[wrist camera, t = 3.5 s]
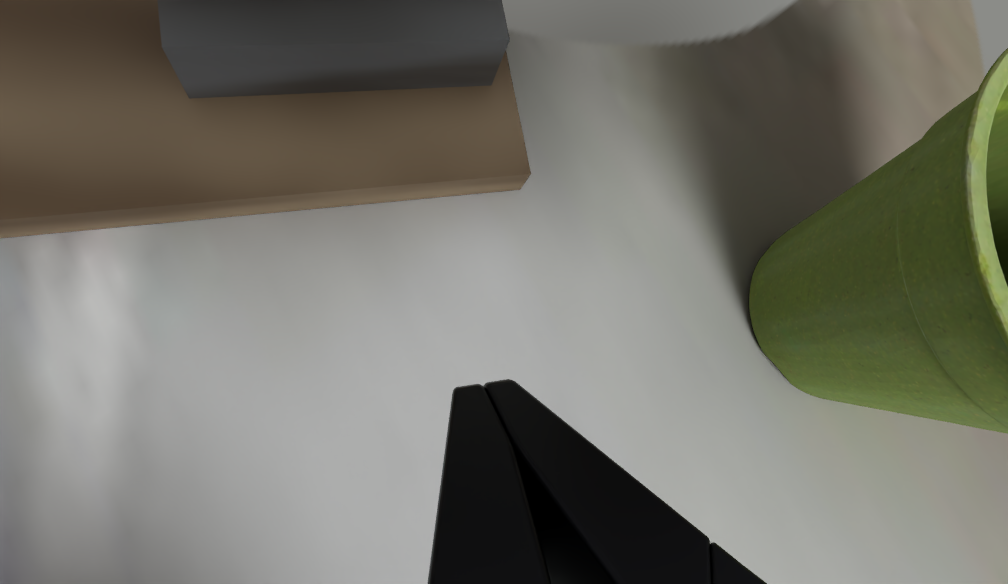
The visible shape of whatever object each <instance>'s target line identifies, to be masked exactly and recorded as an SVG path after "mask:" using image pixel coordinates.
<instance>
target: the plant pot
mask: <svg viewBox="0 0 1008 584" xmlns="http://www.w3.org/2000/svg"><path fill="white" fill-rule="evenodd" d="M749 309H750V317H751V321H752V326H753V330H754V333H755V336H756V338H757V341H758V343H759V345H760V347H761V349H762V351H763V353H764V354H765V355H766V356H767V357H768V358H769V359H770V360H771V361H772V362H773V363H774V364H775V366H776V367H777V368H778V369H779V370H780V371H781V373H782V374H783V375H784V376H785V377H786V378H787V380H788V381H789V382H790V383H791V384H792V385H793V386H795V387H796V388H798V389H800V390H801V391H803V392H805V393H808V394H810V395H813V396H816V397H819V398H823V399H827V400H833V401H838V402H843V403H849V404H854V405H859V406H865V407H870V408H875V409H881V410H886V411H892V412H897V413H902V414H908V415H913V416H918V417H924V418H929V419H934V420H940V421H945V422H951V423H956V424H961V425H966V426H971V427H976V428H981V429H986V430H992V431H997V432H1002V433H1008V48H1007V49H1006V50H1005V51H1004V52H1003V53H1002V54H1001V56H1000V57H999V58H998V59H997V60H996V62H995V63H994V64H993V66H992V67H991V68H990V70H989V71H988V73H987V75H986V76H985V78H984V80H983V81H982V83H981V85H980V87H979V89H978V91H977V92H975V93H974V94H973V95H971V96H970V97H969V98H967V99H966V100H964V101H963V102H962V103H960V104H959V105H958V106H956V107H955V108H953V109H952V110H951V111H949V112H948V113H947V114H946V115H944V116H943V117H942V118H941V119H939V120H938V121H937V122H936V123H935V124H934V125H933V126H932V127H931V128H930V129H929V130H928V131H927V132H926V134H925V135H924V136H923V138H922V139H921V140H919V141H918V142H916V143H915V144H913V145H912V146H911V147H909V148H908V149H906V150H905V151H903V152H902V153H901V154H899V155H898V156H896V157H895V158H893V159H892V160H891V161H889V162H888V163H886V164H885V165H883V166H882V167H880V168H879V169H878V170H876V171H875V172H873V173H872V174H871V175H869V176H868V177H866V178H865V179H863V180H862V181H860V182H859V183H857V184H856V185H855V186H853V187H852V188H850V189H849V190H847V191H846V192H844V193H843V194H841V195H840V196H839V197H837V198H836V199H834V200H833V201H831V202H830V203H828V204H827V205H826V206H824V207H823V208H821V209H820V210H818V211H817V212H815V213H814V214H812V215H811V216H809V217H808V218H806V219H805V220H803V221H802V222H800V223H799V224H798V225H796V226H795V227H793V228H792V229H790V230H789V231H787V232H786V233H785V234H783V235H782V236H781V237H779V238H778V239H777V240H776V241H775V242H774V243H773V244H772V245H771V246H770V247H769V249H768V250H767V251H766V252H765V253H764V255H763V256H762V257H761V258H760V260H759V261H758V263H757V265H756V267H755V270H754V273H753V276H752V280H751V287H750V295H749Z"/></svg>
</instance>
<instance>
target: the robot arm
mask: <svg viewBox="0 0 1008 584" xmlns="http://www.w3.org/2000/svg"><path fill="white" fill-rule="evenodd" d="M428 584H767V583H765V582H764V581H763V580H762V579H760V578H759V577H758V576H756V575H755V574H754V573H752V572H751V571H750V570H749V569H747V568H746V567H745V566H743V565H742V564H741V563H740V562H738V561H737V560H736V559H735V558H733V557H732V556H731V555H730V554H728V553H727V552H726V551H725V550H723V549H722V548H721V547H720V546H718V545H717V544H716V543H711V544H710V540H709V538H708V537H707V536H706V535H704V534H703V533H702V532H701V531H700V530H698V529H697V528H696V527H695V526H693V525H692V524H691V523H690V522H688V521H687V520H686V519H685V518H683V517H682V516H681V515H680V514H678V513H677V512H676V511H675V510H674V509H672V508H671V507H670V506H669V505H667V504H666V503H665V502H664V501H662V500H661V499H660V498H659V497H657V496H656V495H655V494H654V493H652V492H651V491H650V490H649V489H648V488H646V487H645V486H644V485H643V484H641V483H640V482H639V481H638V480H636V479H635V478H634V477H633V476H631V475H630V474H629V473H628V472H626V471H625V470H624V469H623V468H622V467H620V466H619V465H618V464H617V463H615V462H614V461H613V460H612V459H610V458H609V457H608V456H607V455H605V454H604V453H603V452H602V451H600V450H599V449H598V448H597V447H596V446H594V445H593V444H592V443H591V442H589V441H588V440H587V439H586V438H584V437H583V436H582V435H581V434H579V433H578V432H577V431H576V430H574V429H573V428H572V427H571V426H569V425H568V424H567V423H566V422H565V421H563V420H562V419H561V418H560V417H558V416H557V415H556V414H555V413H553V412H552V411H551V410H550V409H548V408H547V407H546V406H545V405H543V404H542V403H541V402H540V401H539V400H537V399H536V398H535V397H534V396H532V395H531V394H530V393H529V392H527V391H526V390H525V389H524V388H522V387H521V386H520V385H519V384H517V383H516V382H515V381H513V380H509V379H507V380H500V381H494V382H488V383H486V384H485V385H484V386H482V385H480V384H474V385H468V386H461V387H456V388H455V389H454V390H453V394H452V402H451V409H450V417H449V424H448V432H447V440H446V447H445V455H444V463H443V470H442V478H441V486H440V493H439V501H438V509H437V516H436V524H435V531H434V539H433V547H432V554H431V562H430V570H429V577H428Z"/></svg>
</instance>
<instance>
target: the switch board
mask: <svg viewBox="0 0 1008 584" xmlns="http://www.w3.org/2000/svg"><path fill="white" fill-rule="evenodd" d="M509 40H510V39H509V34H508V29H507V24H506V19H505V15H504V10H503V5H502V0H0V238H8V237H18V236H29V235H40V234H50V233H61V232H72V231H82V230H93V229H104V228H114V227H125V226H136V225H147V224H157V223H168V222H179V221H189V220H200V219H211V218H221V217H232V216H243V215H253V214H264V213H275V212H285V211H296V210H307V209H317V208H328V207H339V206H349V205H360V204H371V203H381V202H392V201H403V200H413V199H424V198H435V197H445V196H456V195H467V194H478V193H488V192H499V191H510V190H520V189H521V187H522V186H523V184H524V183H525V182H526V180H527V179H528V177H529V176H530V174H531V172H530V167H529V162H528V157H527V152H526V147H525V143H524V138H523V133H522V128H521V123H520V118H519V113H518V108H517V103H516V98H515V93H514V88H513V84H512V79H511V74H510V69H509V64H508V59H507V54H506V48H507V45H508V43H509Z"/></svg>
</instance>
